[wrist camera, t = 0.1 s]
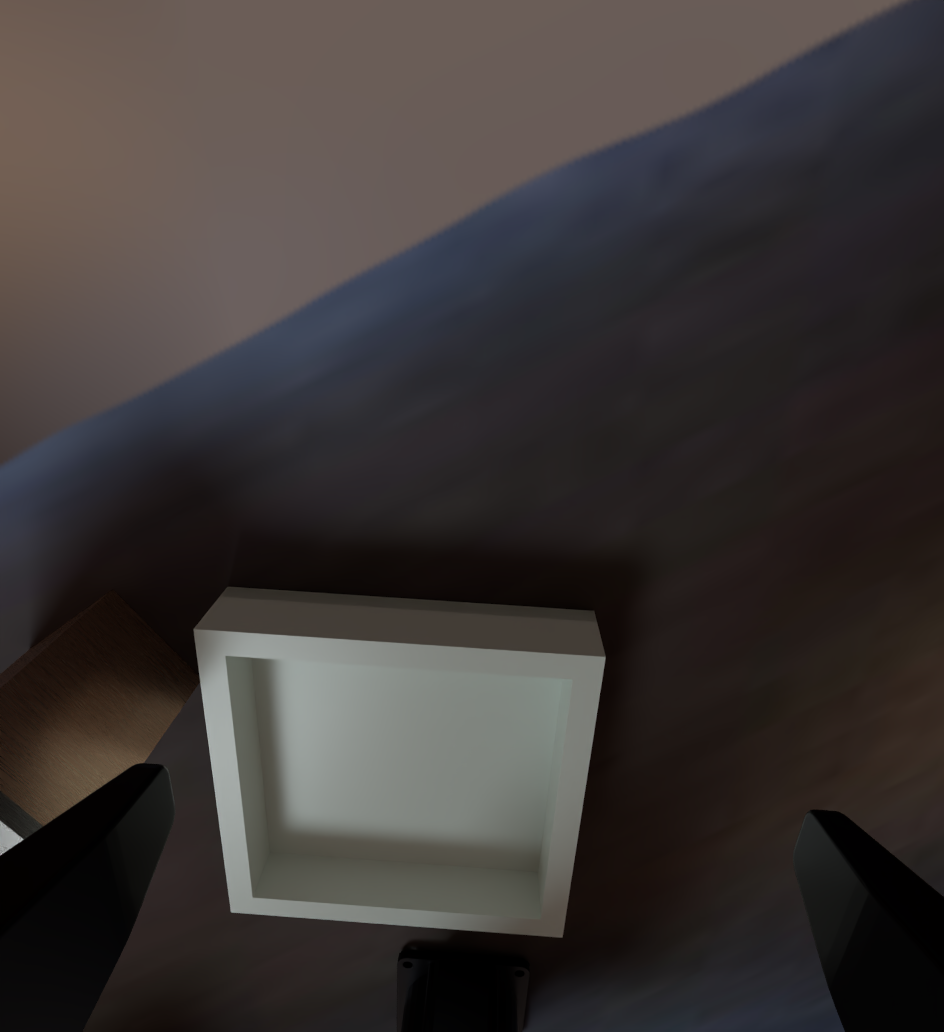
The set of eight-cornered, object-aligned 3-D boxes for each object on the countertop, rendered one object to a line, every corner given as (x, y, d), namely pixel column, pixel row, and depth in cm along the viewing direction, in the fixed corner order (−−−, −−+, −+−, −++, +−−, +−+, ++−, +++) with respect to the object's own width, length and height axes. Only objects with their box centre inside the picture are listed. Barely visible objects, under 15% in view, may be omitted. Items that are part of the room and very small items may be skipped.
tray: (556, 873, 30) (562, 937, 27) (255, 851, 30) (230, 912, 28) (594, 610, 25) (605, 657, 22) (227, 586, 25) (193, 629, 22)
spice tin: (202, 678, 27) (66, 873, 18) (119, 731, 28) (-43, 936, 20) (112, 589, 25) (-79, 757, 17) (29, 649, 27) (-187, 833, 18)
